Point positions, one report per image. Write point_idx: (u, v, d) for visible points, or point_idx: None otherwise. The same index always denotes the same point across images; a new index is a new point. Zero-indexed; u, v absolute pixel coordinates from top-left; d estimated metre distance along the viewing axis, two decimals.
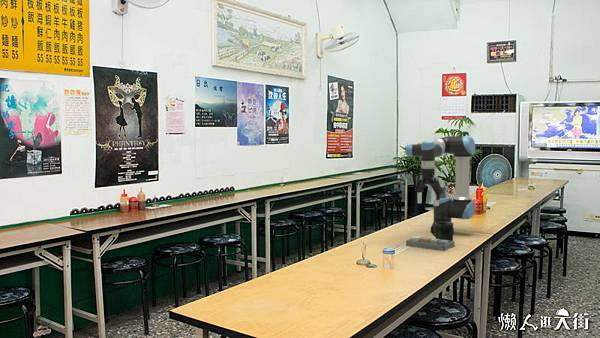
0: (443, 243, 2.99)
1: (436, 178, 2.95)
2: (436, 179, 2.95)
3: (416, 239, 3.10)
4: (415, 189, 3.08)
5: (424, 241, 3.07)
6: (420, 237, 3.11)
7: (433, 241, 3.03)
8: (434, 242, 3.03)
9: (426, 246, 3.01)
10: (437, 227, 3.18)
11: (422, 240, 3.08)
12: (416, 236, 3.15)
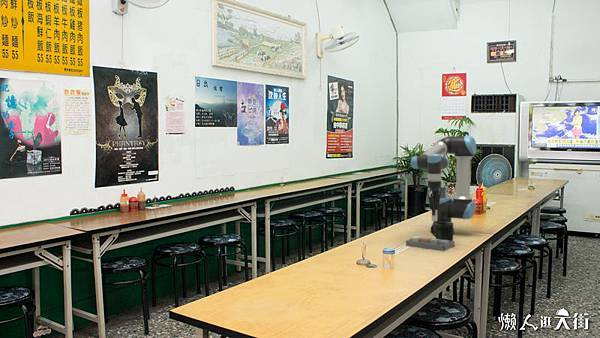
0: (443, 243, 2.99)
1: (429, 195, 2.98)
2: (429, 196, 2.99)
3: (416, 239, 3.10)
4: None
5: (424, 241, 3.07)
6: (420, 237, 3.11)
7: (433, 241, 3.03)
8: (434, 242, 3.03)
9: (426, 246, 3.01)
10: (437, 227, 3.18)
11: (422, 240, 3.08)
12: (416, 236, 3.15)
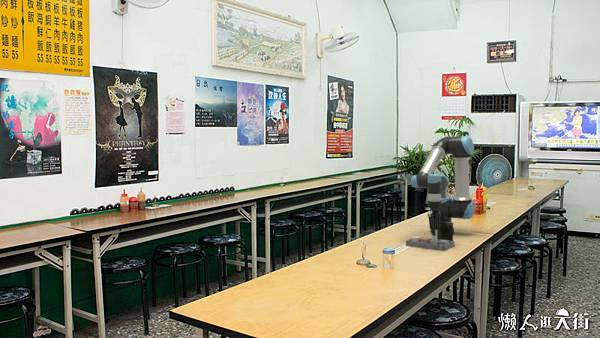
0: (443, 243, 2.99)
1: (429, 215, 2.99)
2: (429, 216, 3.00)
3: (416, 239, 3.10)
4: None
5: (424, 241, 3.07)
6: (420, 237, 3.11)
7: (433, 243, 3.03)
8: (434, 243, 3.03)
9: (426, 246, 3.01)
10: None
11: (422, 240, 3.08)
12: (416, 236, 3.15)
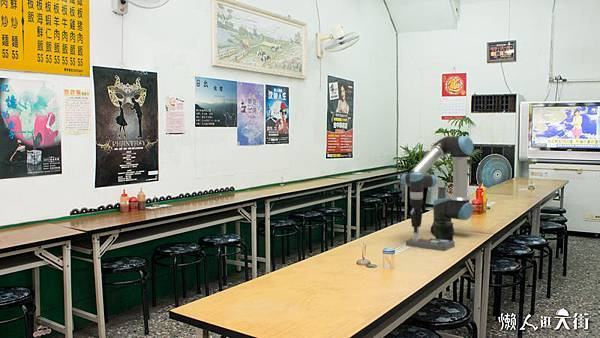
0: (443, 243, 2.99)
1: (411, 213, 3.07)
2: (411, 213, 3.07)
3: (416, 240, 3.10)
4: None
5: (424, 241, 3.07)
6: (420, 238, 3.11)
7: (433, 243, 3.03)
8: None
9: (426, 246, 3.01)
10: (437, 227, 3.18)
11: (422, 240, 3.08)
12: None
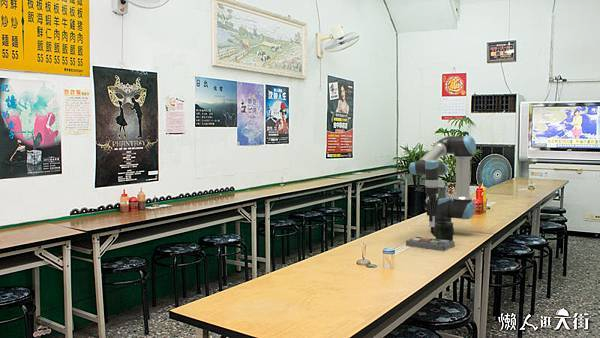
0: (443, 243, 2.99)
1: (426, 201, 3.00)
2: (426, 202, 3.00)
3: None
4: None
5: (424, 241, 3.07)
6: None
7: (433, 243, 3.03)
8: None
9: (426, 246, 3.01)
10: (437, 227, 3.18)
11: (422, 240, 3.08)
12: (416, 238, 3.15)
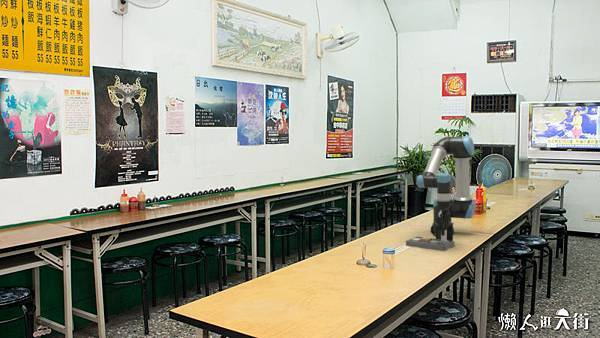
0: (443, 243, 2.99)
1: (438, 215, 2.95)
2: (438, 216, 2.96)
3: None
4: None
5: (424, 241, 3.07)
6: None
7: (433, 243, 3.03)
8: None
9: (426, 246, 3.01)
10: (437, 227, 3.18)
11: (422, 240, 3.08)
12: (416, 238, 3.15)
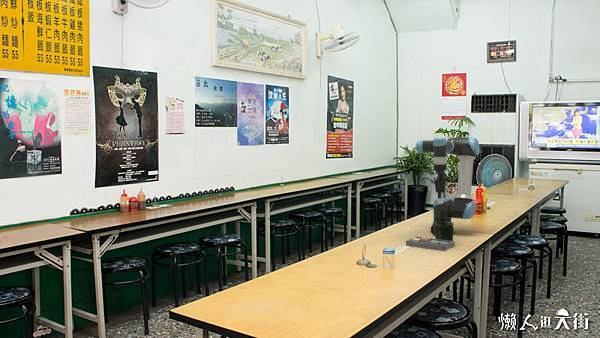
0: None
1: (435, 178, 3.03)
2: (435, 179, 3.03)
3: None
4: None
5: (424, 241, 3.07)
6: None
7: (433, 243, 3.03)
8: None
9: (426, 246, 3.01)
10: (437, 227, 3.18)
11: (422, 240, 3.08)
12: (416, 238, 3.15)
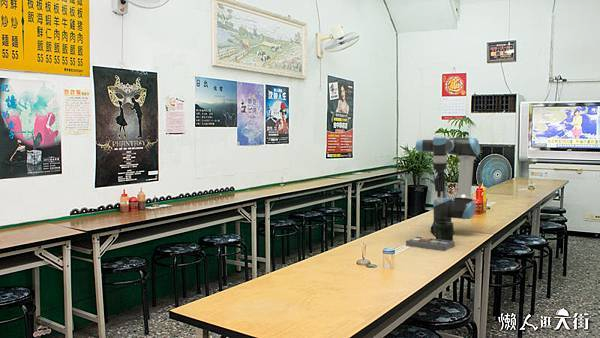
0: None
1: (434, 177, 3.03)
2: (435, 177, 3.03)
3: None
4: None
5: (424, 241, 3.07)
6: None
7: (433, 243, 3.03)
8: None
9: (426, 246, 3.01)
10: (437, 227, 3.18)
11: (422, 240, 3.08)
12: (416, 238, 3.15)
